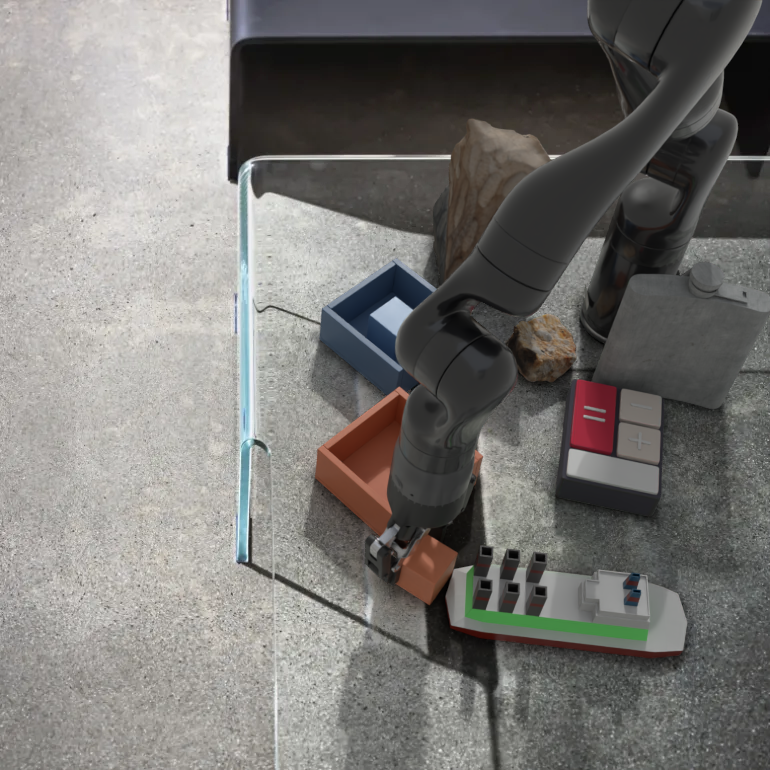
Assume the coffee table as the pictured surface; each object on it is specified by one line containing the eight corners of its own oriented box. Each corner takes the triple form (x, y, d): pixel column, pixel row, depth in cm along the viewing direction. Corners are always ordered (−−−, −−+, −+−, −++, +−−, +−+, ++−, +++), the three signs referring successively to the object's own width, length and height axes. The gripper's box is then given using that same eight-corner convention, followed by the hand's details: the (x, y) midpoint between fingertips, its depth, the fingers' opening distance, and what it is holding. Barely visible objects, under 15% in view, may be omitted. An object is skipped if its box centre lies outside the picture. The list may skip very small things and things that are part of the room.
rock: (541, 399, 137) (600, 350, 140) (535, 366, 132) (596, 316, 135) (491, 364, 142) (549, 318, 145) (484, 331, 138) (544, 284, 141)
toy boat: (446, 565, 122) (457, 527, 115) (681, 593, 122) (704, 556, 116) (442, 633, 117) (453, 597, 111) (687, 662, 117) (711, 627, 111)
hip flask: (591, 392, 138) (635, 277, 122) (591, 366, 140) (634, 250, 125) (723, 410, 138) (784, 298, 122) (720, 384, 140) (780, 270, 125)
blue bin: (391, 288, 145) (396, 257, 141) (466, 346, 140) (473, 316, 136) (319, 339, 139) (321, 308, 135) (394, 402, 134) (398, 372, 130)
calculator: (666, 392, 134) (663, 495, 124) (656, 415, 137) (652, 518, 127) (573, 373, 135) (562, 474, 125) (565, 397, 138) (554, 497, 128)
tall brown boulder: (426, 231, 152) (446, 110, 136) (519, 230, 154) (550, 109, 138) (440, 304, 144) (464, 184, 129) (538, 301, 146) (573, 182, 130)
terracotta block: (416, 551, 122) (421, 530, 119) (452, 574, 121) (458, 552, 118) (393, 582, 120) (397, 561, 116) (429, 605, 119) (435, 584, 115)
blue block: (391, 320, 141) (395, 295, 138) (418, 342, 139) (423, 317, 136) (365, 339, 139) (369, 314, 135) (392, 361, 137) (396, 336, 134)
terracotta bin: (394, 415, 133) (399, 386, 129) (475, 484, 128) (483, 456, 124) (314, 477, 127) (317, 448, 122) (397, 552, 122) (402, 524, 118)
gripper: (406, 541, 103) (388, 625, 116) (510, 452, 110) (482, 541, 123) (347, 488, 106) (336, 576, 119) (452, 404, 113) (431, 496, 126)
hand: (410, 558), depth 121 cm, fingers open, 6 cm apart
